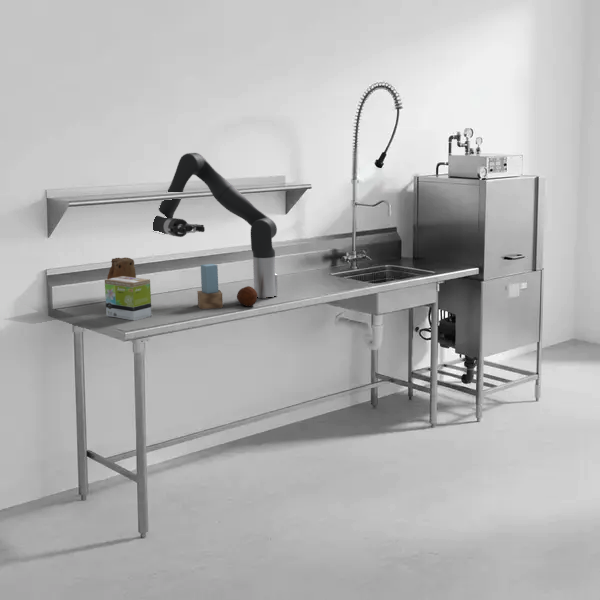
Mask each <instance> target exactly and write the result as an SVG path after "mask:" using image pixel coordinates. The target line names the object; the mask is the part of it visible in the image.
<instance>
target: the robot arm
mask: <svg viewBox="0 0 600 600" xmlns="http://www.w3.org/2000/svg"><path fill="white" fill-rule="evenodd" d="M192 176H196V177H197V178H198V179H200V180H201V181H202V182H203V183H204V184H205V185H206V186H207V188H208V189H209V191H210V193H211V194H212V196H213V198H215V200H216V202H218V203H219V204H220V205H221V206H222V207H224V209H226V210H227V211H228V212H230V213H232V214H234V215H235V216H237V217H239V218H241V219H243V220H244V221H245V222H246V223H248V225H249V226H250V246H251V251H252V255H253V256H252V261H253V262H252V264H253V265H252V267H253V289H255V290H256V292H257V297H258V298H257V299H267V298H266V297H273V298H275V297H274V296H276V297H278V296H277V295H278V274H277V273H276V250H275V249H274V248H273V241H272V239H273V238H275V236H277V235H276V234H277V232H278V228H277V225H276V223H275V222H274V220H273V219H272V218H270V217H269V216H267V215H266V214H264V213H263V212H262V211H260V210H259V209H258V208H257V207H256V206H254V204H253V203H252V202H251V201H250V200H248V198H247V197H246V196H245V195H243V194H242V193H241V192H240V191H239V190H238V189H237V188H236V187H235V186H234V185H233V184H232V183H231V182H230V181H228V180H227V179H226V178H225V177H224V176H222V175H221V174H220V173H219V172H218V171H217V170H216V169H215V168H214V167H213V166H212V165H211V163H210V162H208V161H207V160H206V158H205V157H204V156H203V155H202V154H200V153H198V152H187V153H184V154H183V155H182V156H181V157H180V159H179V161H178V164H177V167H176V169H175V172H174V175H173V178H172V181H171V182H170V185H169V187H168V189H167V191H168V192H183V193H184V189H185V187H186V185H187V183H188V181H189V180H190V179H191V177H192ZM181 200H182V198H181V199H172V200H164V201H162V200H161V203H160V204H161V205H160V204H159V206H160V208H159V207H158V211H159V212H160V213H161V214H162V215H163V216H164V217H165V216H166V217H167V218H164V217H163V216H160V215H157V216H156V217H155V219H154V222H153V230H154V231H159V232H162V233H164V234H163V235H168V236H172V237H178V238H182V237H184V236H187V234H189V233H190V234H192V233H193V234H194V233H197V232H199V233H205V230H206V229H205V226H204V224H198V223H192V224H191V223H188V222H187V221H186V220H185V219H183V218H177V217H175V218H174V214H175V212H176V211H177V208H178V207H179V205H180V203H181ZM154 231H153V232H154Z"/></svg>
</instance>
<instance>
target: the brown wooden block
mask: <svg viewBox="0 0 600 600" xmlns="http://www.w3.org/2000/svg"><path fill="white" fill-rule="evenodd" d="M223 301H224V300H223V292H222V291H221V290H220V289H218V292H216V293H208V294H207V293H204V292H202V290H197V307H199V310H203V309H204V310H205V309H207V310H208V309H222V307H224V306H223Z"/></svg>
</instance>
